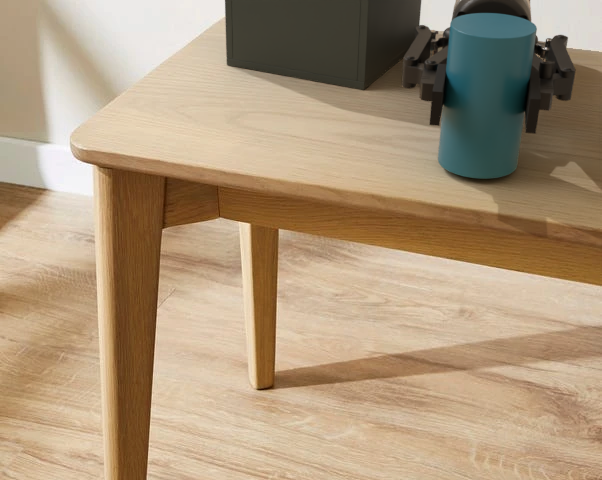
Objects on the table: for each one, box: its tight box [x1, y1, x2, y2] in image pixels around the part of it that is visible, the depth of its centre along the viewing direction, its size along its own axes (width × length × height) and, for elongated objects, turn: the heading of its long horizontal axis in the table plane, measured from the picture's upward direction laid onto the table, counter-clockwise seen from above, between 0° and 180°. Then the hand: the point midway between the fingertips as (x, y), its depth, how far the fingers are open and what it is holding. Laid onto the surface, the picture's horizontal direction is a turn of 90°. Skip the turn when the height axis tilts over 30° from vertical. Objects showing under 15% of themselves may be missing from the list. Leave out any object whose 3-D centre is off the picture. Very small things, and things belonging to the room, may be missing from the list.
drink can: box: [437, 13, 538, 180], centre depth 79 cm, size 7×7×12 cm
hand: (484, 112), depth 74 cm, fingers closed on drink can, 7 cm apart
